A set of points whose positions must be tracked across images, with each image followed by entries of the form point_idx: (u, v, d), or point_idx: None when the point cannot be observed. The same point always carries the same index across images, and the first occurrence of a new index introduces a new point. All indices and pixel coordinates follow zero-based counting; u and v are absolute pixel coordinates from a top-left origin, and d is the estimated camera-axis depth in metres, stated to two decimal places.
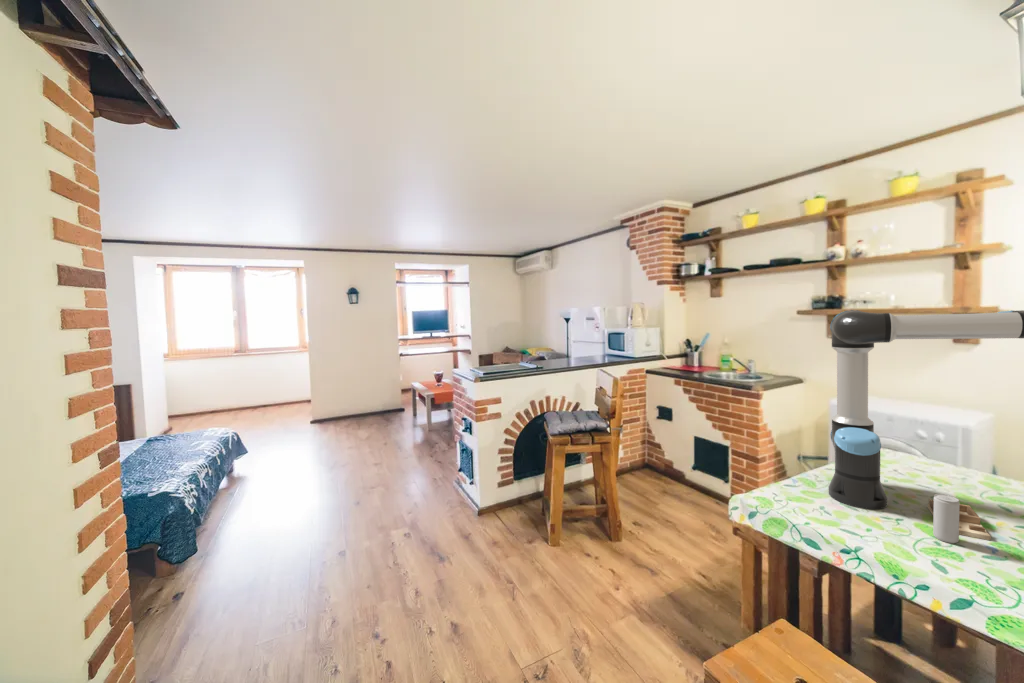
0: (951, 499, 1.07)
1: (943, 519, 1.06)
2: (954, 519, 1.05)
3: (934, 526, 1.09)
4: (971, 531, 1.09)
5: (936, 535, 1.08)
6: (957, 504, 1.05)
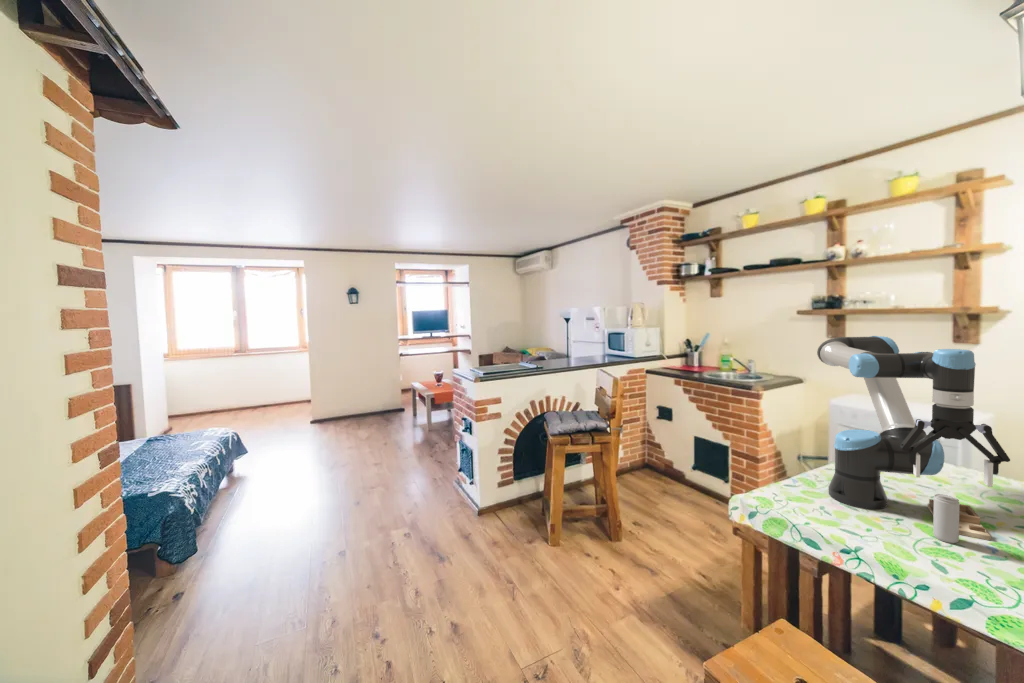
0: (951, 499, 1.07)
1: (943, 519, 1.06)
2: (954, 519, 1.05)
3: (934, 526, 1.09)
4: (971, 531, 1.09)
5: (936, 535, 1.08)
6: (957, 504, 1.05)
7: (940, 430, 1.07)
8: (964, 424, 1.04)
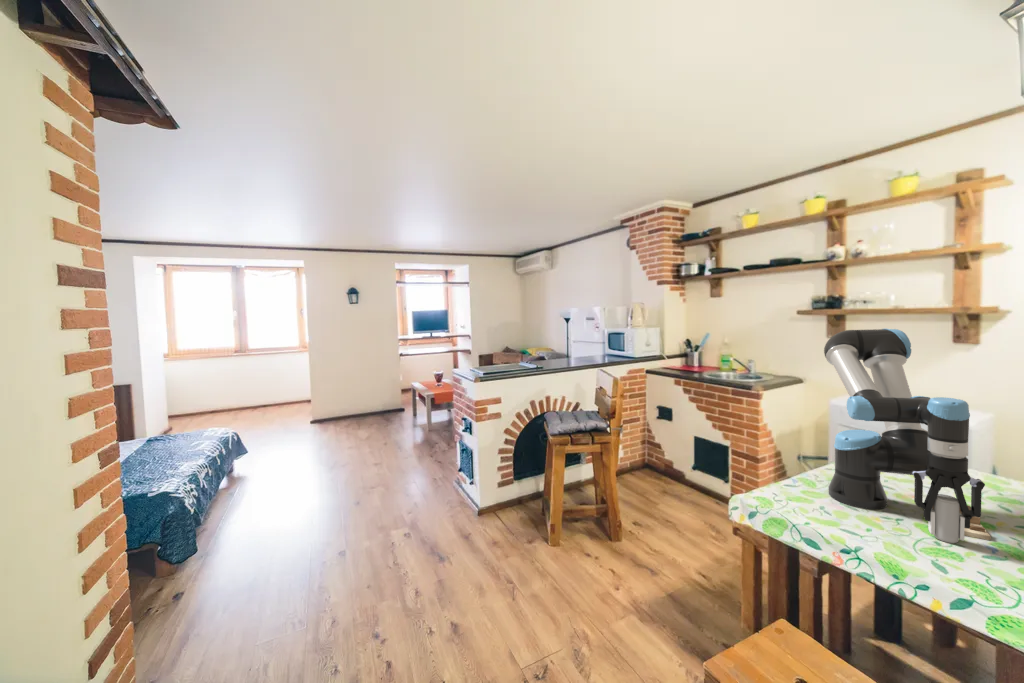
0: (951, 499, 1.07)
1: (943, 519, 1.06)
2: (954, 519, 1.05)
3: None
4: (971, 531, 1.09)
5: (936, 535, 1.08)
6: (957, 504, 1.05)
7: (936, 480, 1.07)
8: (961, 473, 1.05)
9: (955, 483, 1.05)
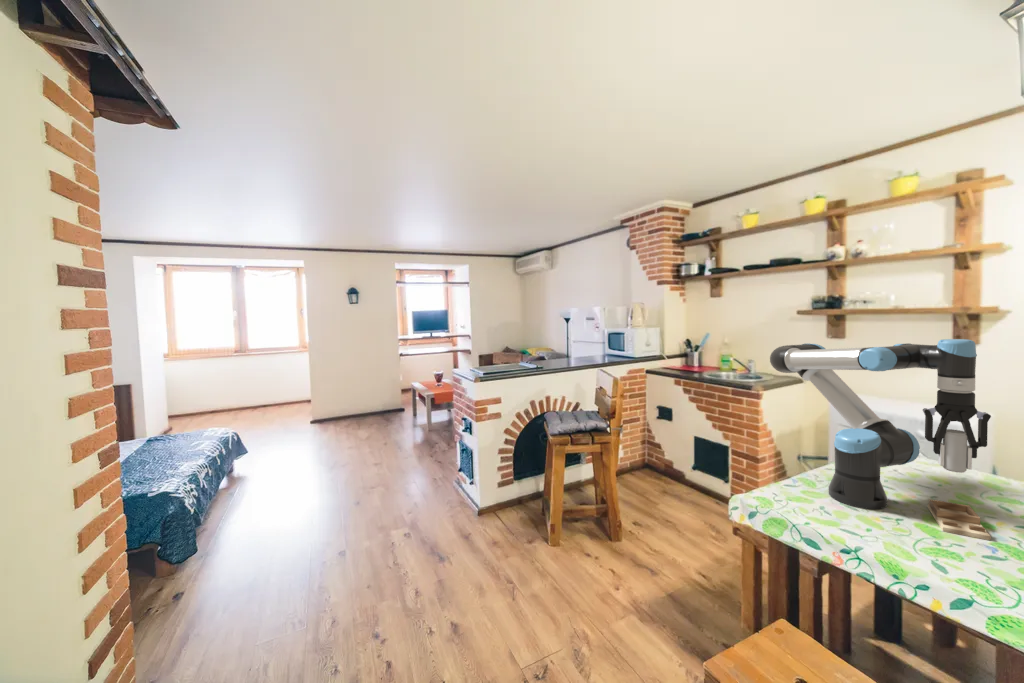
0: (959, 432, 1.15)
1: (952, 451, 1.15)
2: (962, 450, 1.14)
3: None
4: (971, 531, 1.09)
5: (945, 466, 1.17)
6: (965, 436, 1.14)
7: (946, 415, 1.16)
8: (969, 406, 1.13)
9: (963, 416, 1.14)
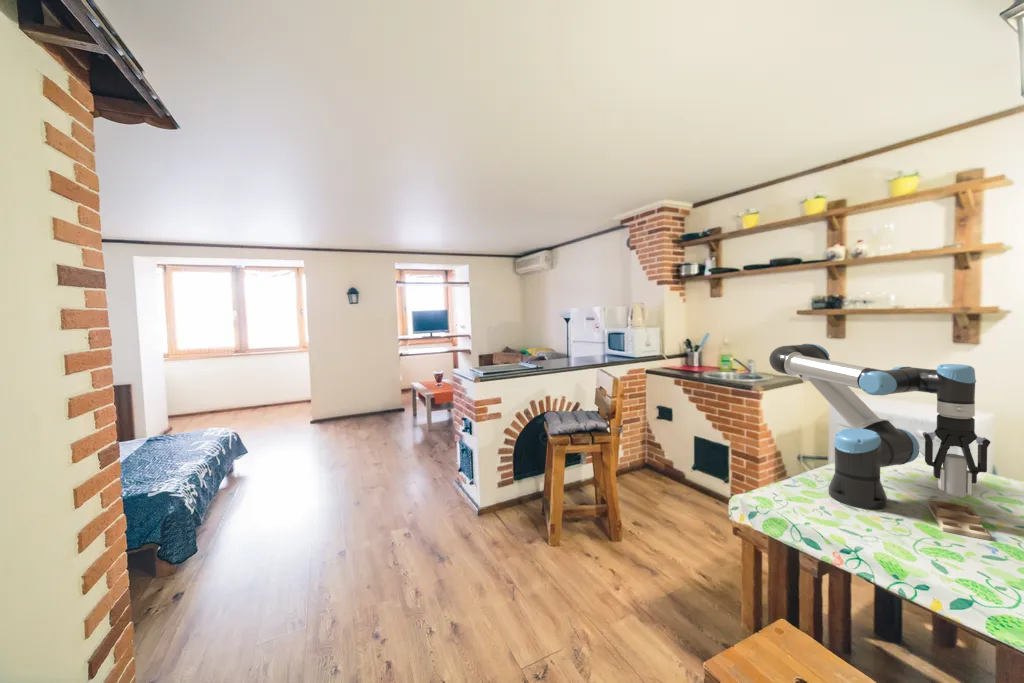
0: (959, 457, 1.16)
1: (952, 475, 1.16)
2: (962, 475, 1.15)
3: None
4: (971, 531, 1.09)
5: (945, 491, 1.18)
6: (965, 461, 1.14)
7: (945, 440, 1.17)
8: (968, 432, 1.14)
9: (963, 442, 1.14)
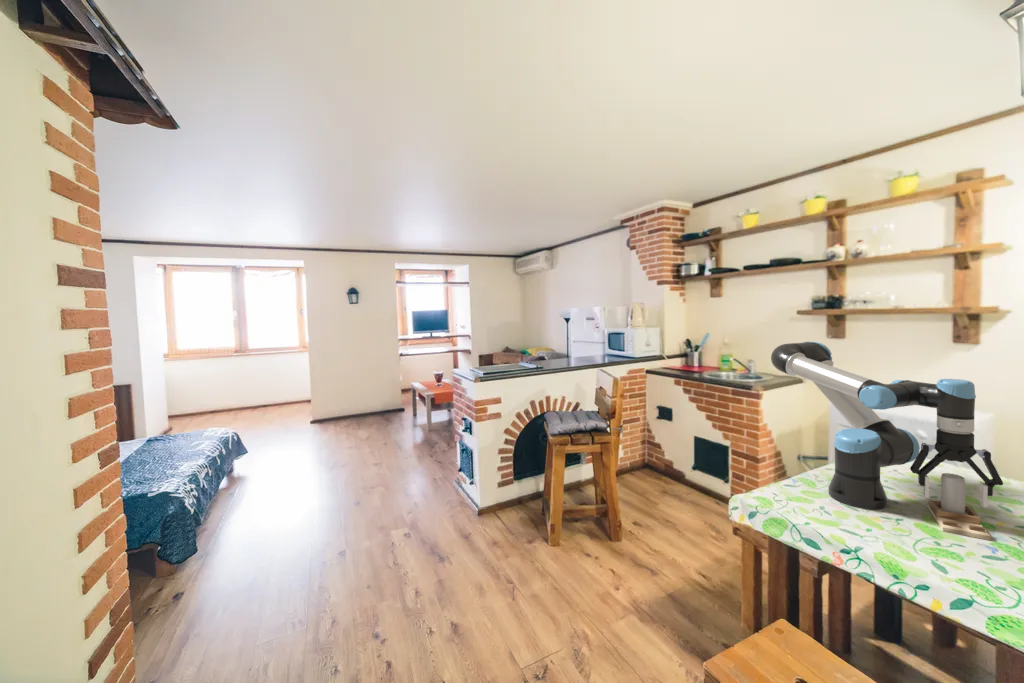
0: (957, 477, 1.16)
1: (950, 496, 1.16)
2: (960, 495, 1.15)
3: (942, 502, 1.19)
4: (971, 531, 1.09)
5: None
6: (962, 481, 1.15)
7: (943, 453, 1.17)
8: (966, 448, 1.14)
9: (964, 457, 1.14)
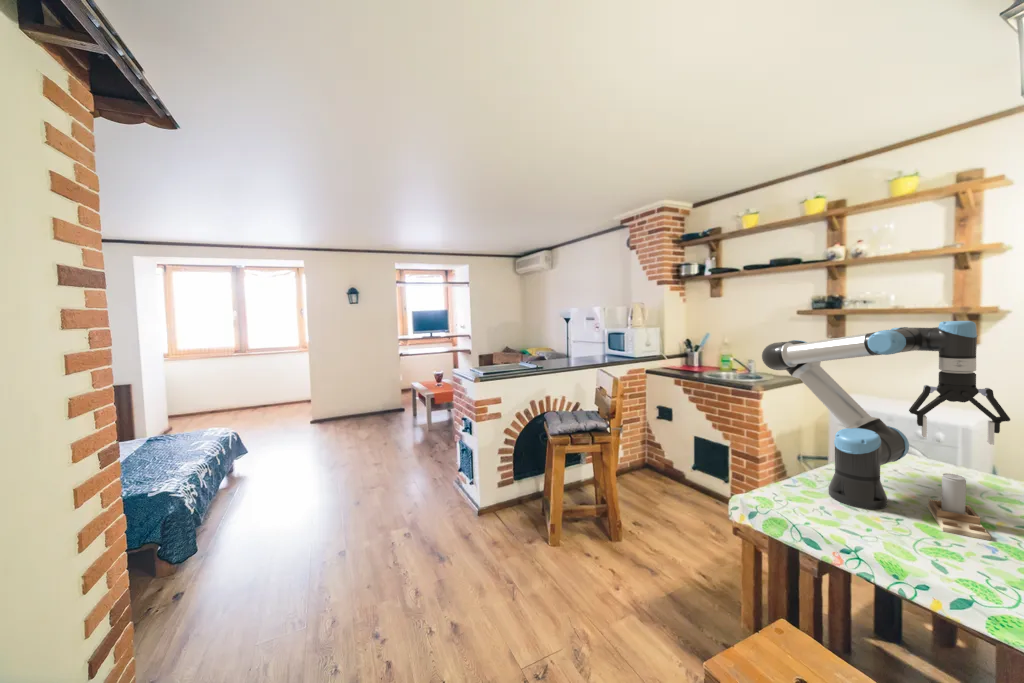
0: (958, 477, 1.16)
1: (951, 496, 1.16)
2: (961, 496, 1.15)
3: (942, 502, 1.19)
4: (971, 531, 1.09)
5: None
6: (964, 482, 1.15)
7: (945, 394, 1.18)
8: (967, 388, 1.15)
9: (966, 396, 1.15)
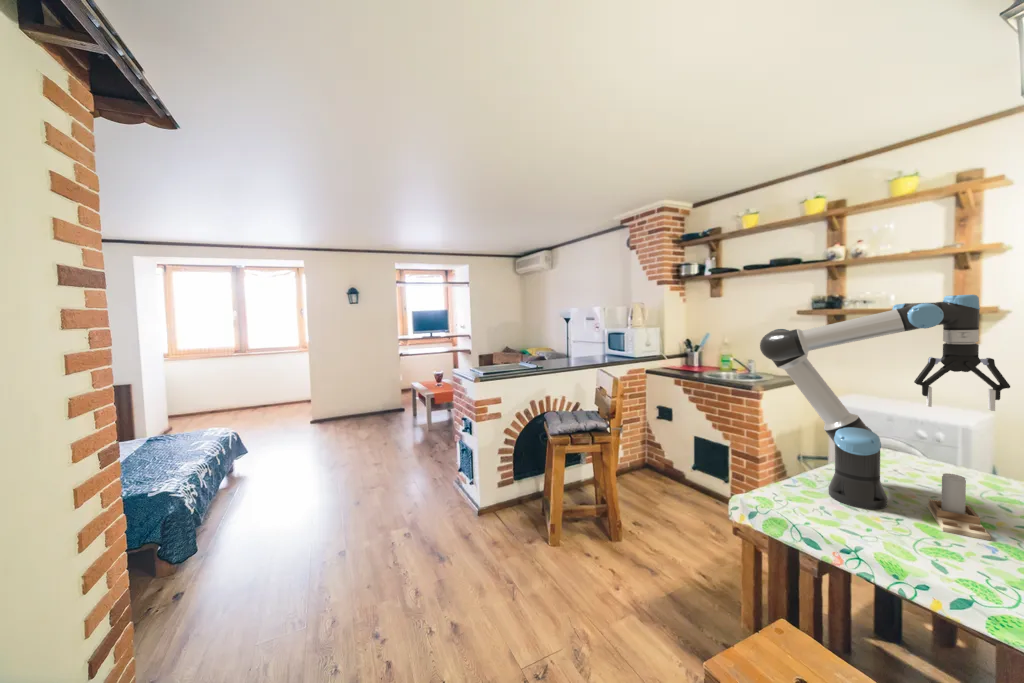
0: (958, 477, 1.16)
1: (951, 496, 1.16)
2: (961, 496, 1.15)
3: (942, 502, 1.19)
4: (971, 531, 1.09)
5: None
6: (963, 482, 1.15)
7: (949, 364, 1.24)
8: (970, 358, 1.22)
9: (969, 366, 1.22)
